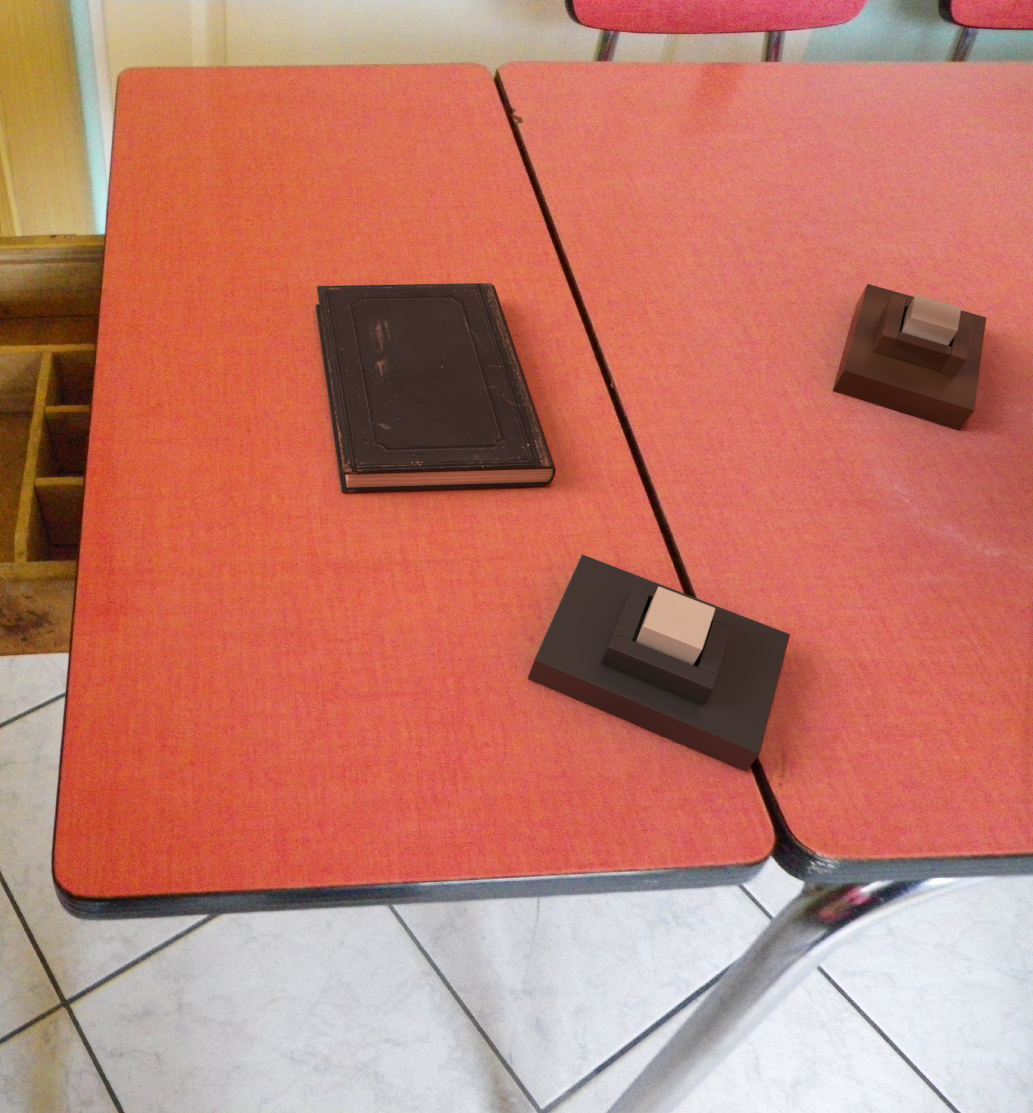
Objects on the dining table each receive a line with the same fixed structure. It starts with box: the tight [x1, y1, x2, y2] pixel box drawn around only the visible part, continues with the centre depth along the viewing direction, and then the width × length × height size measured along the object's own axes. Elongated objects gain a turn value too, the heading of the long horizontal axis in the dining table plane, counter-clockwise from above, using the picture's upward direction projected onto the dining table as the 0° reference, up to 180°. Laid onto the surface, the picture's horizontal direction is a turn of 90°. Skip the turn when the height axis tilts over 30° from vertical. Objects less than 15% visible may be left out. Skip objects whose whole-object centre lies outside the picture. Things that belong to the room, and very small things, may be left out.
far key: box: [902, 294, 962, 346], centre depth 85 cm, size 4×4×2 cm
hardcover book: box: [315, 282, 557, 494], centre depth 83 cm, size 16×23×2 cm
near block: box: [527, 554, 791, 772], centre depth 65 cm, size 14×10×4 cm
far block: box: [832, 283, 987, 431], centre depth 87 cm, size 14×10×4 cm
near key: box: [636, 587, 715, 665], centre depth 63 cm, size 4×4×2 cm
